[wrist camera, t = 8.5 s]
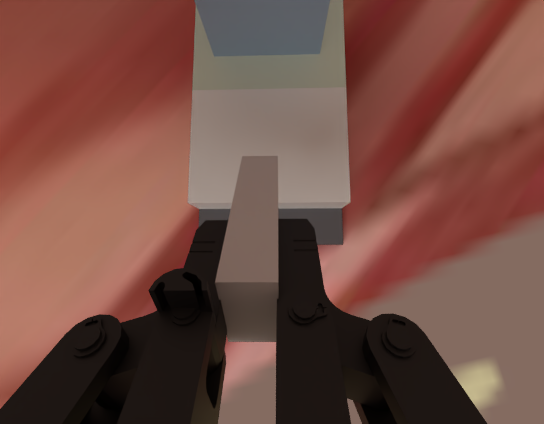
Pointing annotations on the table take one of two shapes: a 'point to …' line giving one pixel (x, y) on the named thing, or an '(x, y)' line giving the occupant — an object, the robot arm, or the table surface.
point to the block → (264, 26)
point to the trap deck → (273, 128)
